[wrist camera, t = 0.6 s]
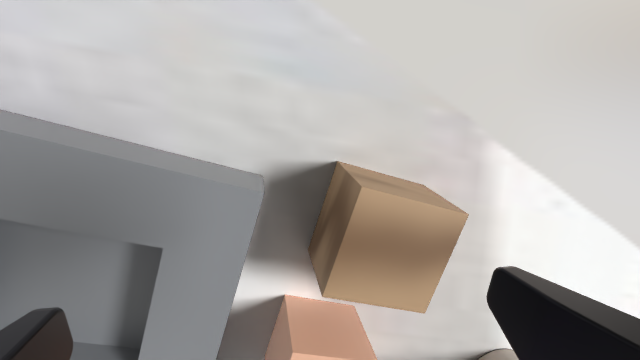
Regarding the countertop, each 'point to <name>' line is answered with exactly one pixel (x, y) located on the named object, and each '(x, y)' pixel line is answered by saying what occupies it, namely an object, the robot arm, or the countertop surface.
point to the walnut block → (382, 239)
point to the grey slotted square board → (121, 240)
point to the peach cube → (318, 332)
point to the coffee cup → (500, 355)
